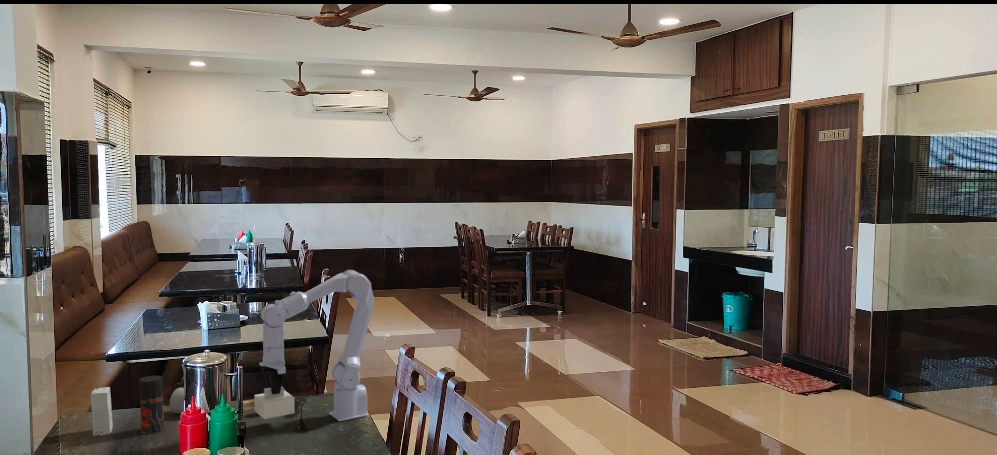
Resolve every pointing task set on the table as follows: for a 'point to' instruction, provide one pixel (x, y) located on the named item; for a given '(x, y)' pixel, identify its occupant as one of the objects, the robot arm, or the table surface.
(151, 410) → the deodorant
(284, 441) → the table surface
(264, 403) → the white box with knob
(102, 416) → the skincare box
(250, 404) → the stopper bar
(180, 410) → the grey rounded block
